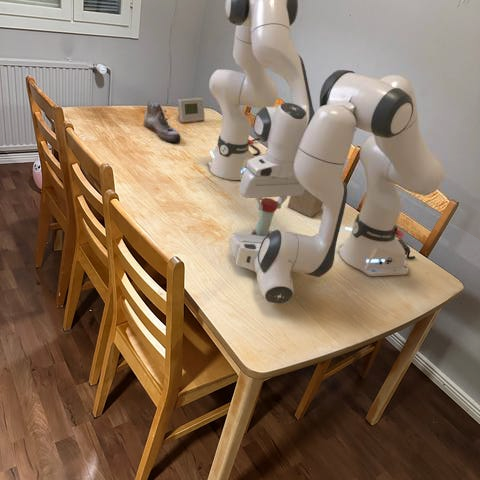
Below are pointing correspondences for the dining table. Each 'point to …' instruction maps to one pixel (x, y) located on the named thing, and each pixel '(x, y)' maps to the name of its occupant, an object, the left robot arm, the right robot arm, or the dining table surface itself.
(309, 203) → the wooden block
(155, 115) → the shoe
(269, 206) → the lid
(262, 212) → the green cylinder
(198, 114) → the digital clock
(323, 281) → the dining table surface
